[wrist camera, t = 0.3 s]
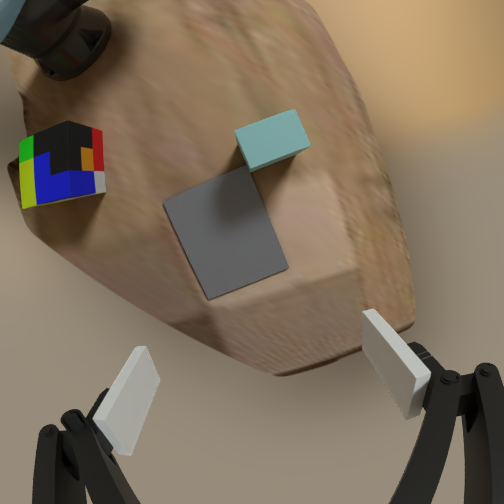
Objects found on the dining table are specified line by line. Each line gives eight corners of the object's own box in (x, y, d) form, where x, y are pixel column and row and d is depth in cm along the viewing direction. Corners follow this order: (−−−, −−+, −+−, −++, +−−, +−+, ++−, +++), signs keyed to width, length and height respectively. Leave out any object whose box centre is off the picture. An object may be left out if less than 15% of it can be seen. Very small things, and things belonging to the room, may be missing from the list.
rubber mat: (164, 201, 39) (162, 202, 38) (246, 164, 38) (246, 164, 37) (209, 297, 43) (208, 299, 42) (288, 266, 42) (289, 267, 41)
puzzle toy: (106, 192, 38) (70, 196, 29) (60, 202, 39) (22, 209, 29) (102, 130, 36) (67, 120, 26) (56, 146, 36) (19, 141, 26)
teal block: (237, 144, 37) (234, 130, 28) (283, 126, 37) (294, 108, 27) (249, 172, 38) (250, 168, 29) (295, 155, 38) (311, 145, 28)
